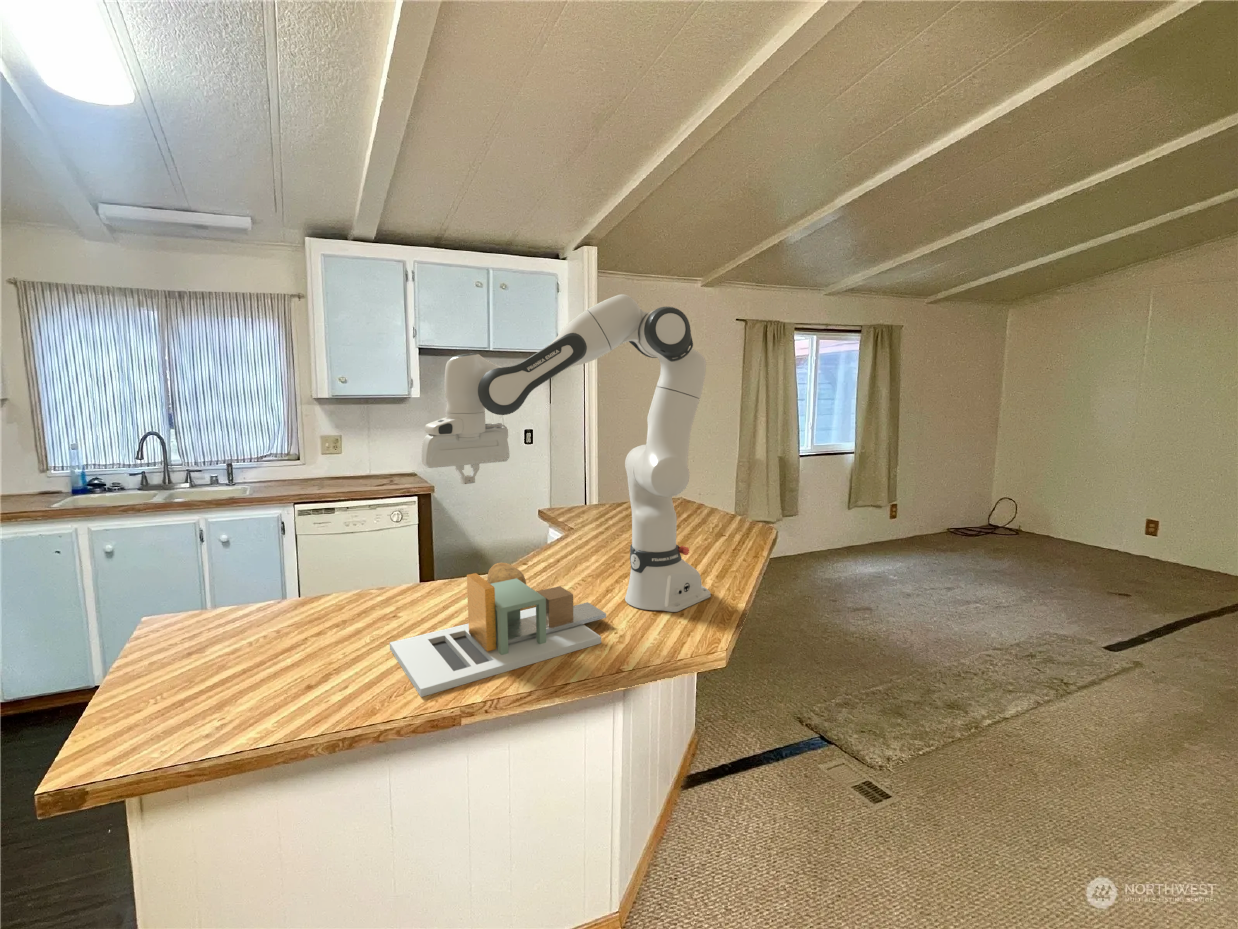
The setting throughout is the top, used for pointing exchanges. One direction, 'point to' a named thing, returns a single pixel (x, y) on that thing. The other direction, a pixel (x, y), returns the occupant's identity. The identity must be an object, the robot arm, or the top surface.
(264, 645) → the top surface
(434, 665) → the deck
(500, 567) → the potato
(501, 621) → the tunnel
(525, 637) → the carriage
